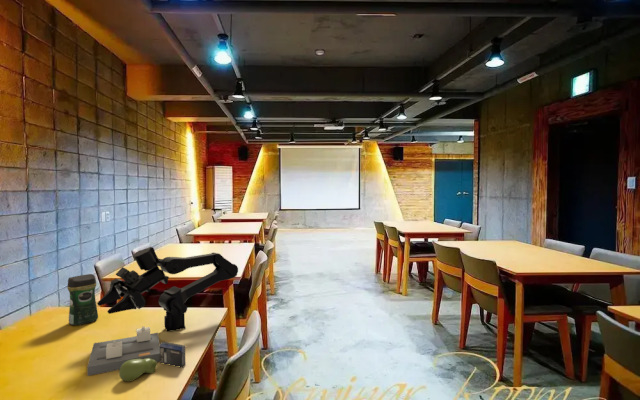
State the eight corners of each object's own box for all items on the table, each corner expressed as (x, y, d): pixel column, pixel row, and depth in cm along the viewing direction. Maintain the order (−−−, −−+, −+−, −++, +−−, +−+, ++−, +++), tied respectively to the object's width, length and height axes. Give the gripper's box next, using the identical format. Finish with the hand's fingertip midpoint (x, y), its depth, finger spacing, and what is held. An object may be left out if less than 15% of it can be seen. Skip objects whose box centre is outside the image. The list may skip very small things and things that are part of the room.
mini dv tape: (160, 363, 111) (159, 343, 111) (163, 361, 113) (163, 341, 112) (182, 367, 108) (181, 347, 108) (185, 365, 110) (185, 345, 110)
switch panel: (157, 339, 129) (157, 332, 128) (161, 361, 112) (160, 352, 112) (94, 350, 120) (93, 342, 120) (87, 375, 104) (87, 366, 104)
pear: (116, 360, 101) (150, 352, 110) (113, 380, 101) (147, 371, 109) (128, 365, 98) (161, 357, 107) (125, 386, 98) (159, 376, 106)
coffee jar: (93, 316, 153) (92, 271, 152) (100, 320, 148) (99, 274, 147) (66, 322, 146) (64, 276, 145) (72, 327, 140) (70, 279, 140)
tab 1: (122, 350, 113) (122, 339, 113) (121, 356, 110) (121, 344, 110) (107, 353, 112) (107, 341, 112) (106, 359, 108) (106, 346, 108)
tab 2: (150, 335, 125) (149, 325, 125) (150, 339, 121) (150, 329, 121) (136, 337, 123) (136, 327, 123) (136, 342, 120) (136, 331, 120)
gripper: (126, 256, 135) (81, 281, 125) (149, 267, 122) (101, 296, 112) (139, 281, 139) (97, 307, 129) (162, 294, 127) (118, 324, 117)
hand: (102, 308), depth 122 cm, fingers open, 9 cm apart
